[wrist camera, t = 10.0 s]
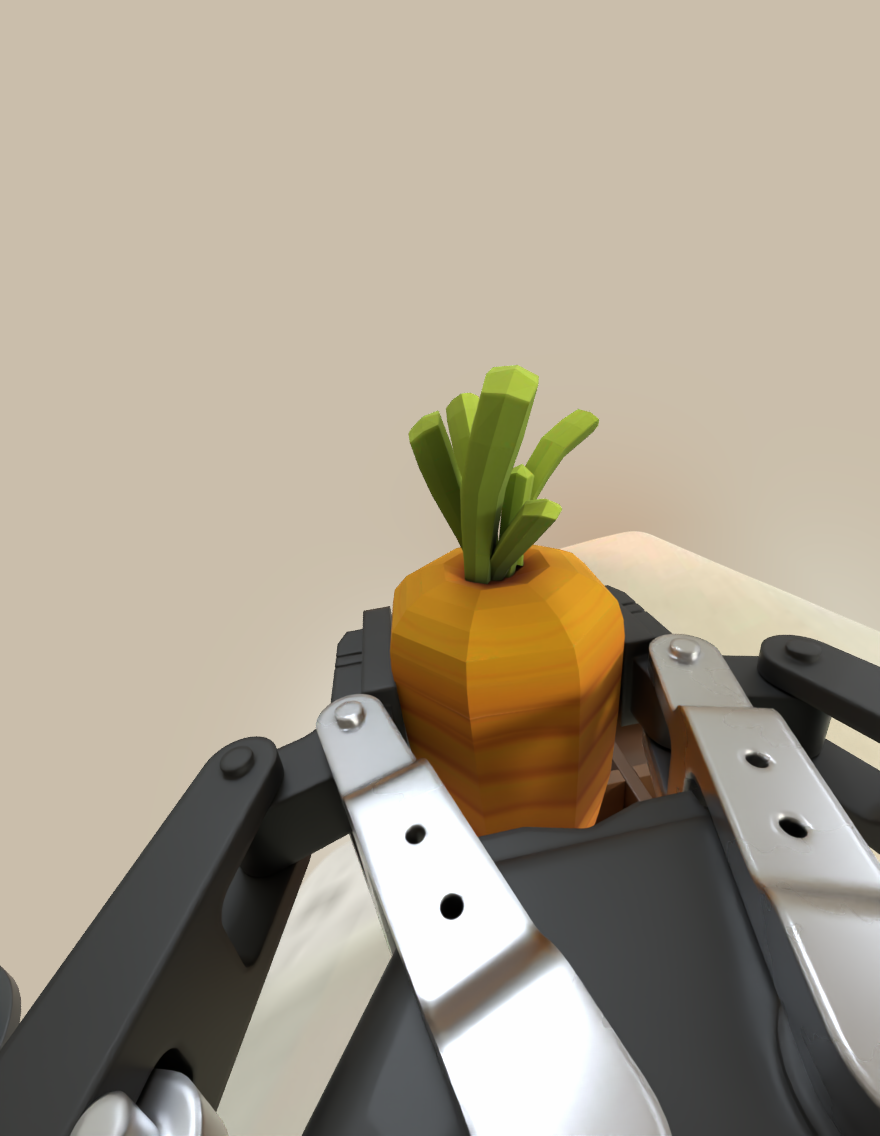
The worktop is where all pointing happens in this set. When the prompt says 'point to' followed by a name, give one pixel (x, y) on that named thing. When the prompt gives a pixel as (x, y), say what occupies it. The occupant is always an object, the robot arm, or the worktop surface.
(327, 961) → the worktop surface
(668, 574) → the worktop surface
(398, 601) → the carrot
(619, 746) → the grid
